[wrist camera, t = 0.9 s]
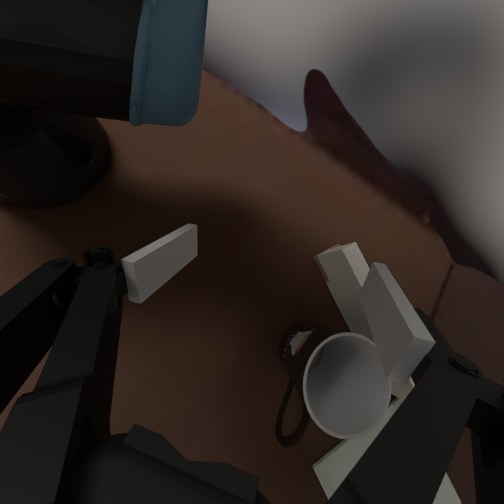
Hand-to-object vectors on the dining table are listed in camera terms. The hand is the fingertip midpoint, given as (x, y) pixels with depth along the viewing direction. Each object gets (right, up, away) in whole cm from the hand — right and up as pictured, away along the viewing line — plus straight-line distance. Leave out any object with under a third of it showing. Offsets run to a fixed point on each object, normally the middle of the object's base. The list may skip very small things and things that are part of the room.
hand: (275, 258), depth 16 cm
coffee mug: (+4, -13, +12) cm, 18 cm away
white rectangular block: (+12, -9, +14) cm, 21 cm away
